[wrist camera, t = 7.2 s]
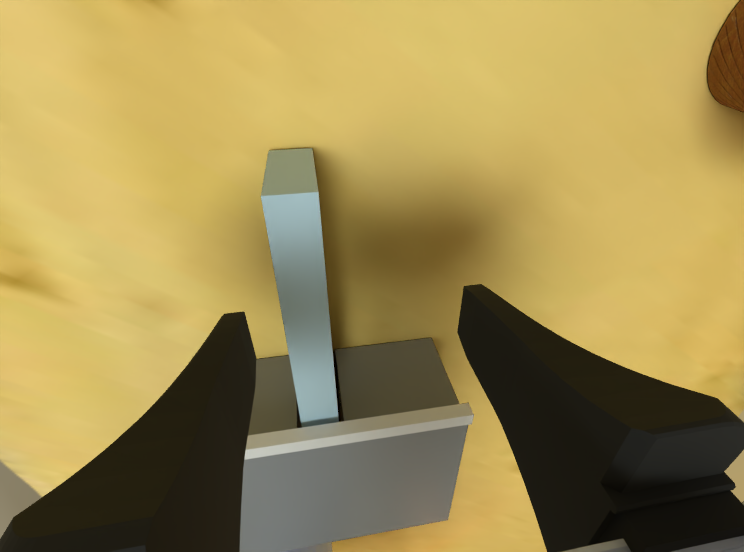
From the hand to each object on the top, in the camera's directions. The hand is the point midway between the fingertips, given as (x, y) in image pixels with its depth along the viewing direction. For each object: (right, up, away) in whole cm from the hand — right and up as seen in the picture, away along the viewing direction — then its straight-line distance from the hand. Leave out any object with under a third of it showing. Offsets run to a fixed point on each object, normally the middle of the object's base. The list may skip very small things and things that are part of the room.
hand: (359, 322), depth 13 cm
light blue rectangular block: (-3, +2, +9) cm, 10 cm away
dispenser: (-3, -8, +16) cm, 18 cm away
